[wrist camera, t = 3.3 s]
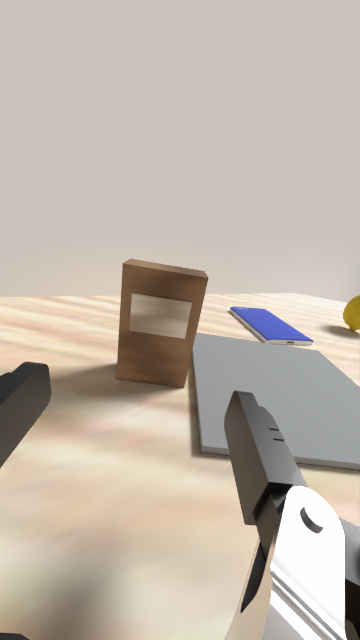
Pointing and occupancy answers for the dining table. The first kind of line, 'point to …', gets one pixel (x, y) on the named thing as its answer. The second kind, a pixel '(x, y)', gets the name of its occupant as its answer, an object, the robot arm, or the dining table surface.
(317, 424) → the grey mat
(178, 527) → the dining table surface
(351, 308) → the lemon
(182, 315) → the brown cardboard box
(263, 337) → the hard drive
